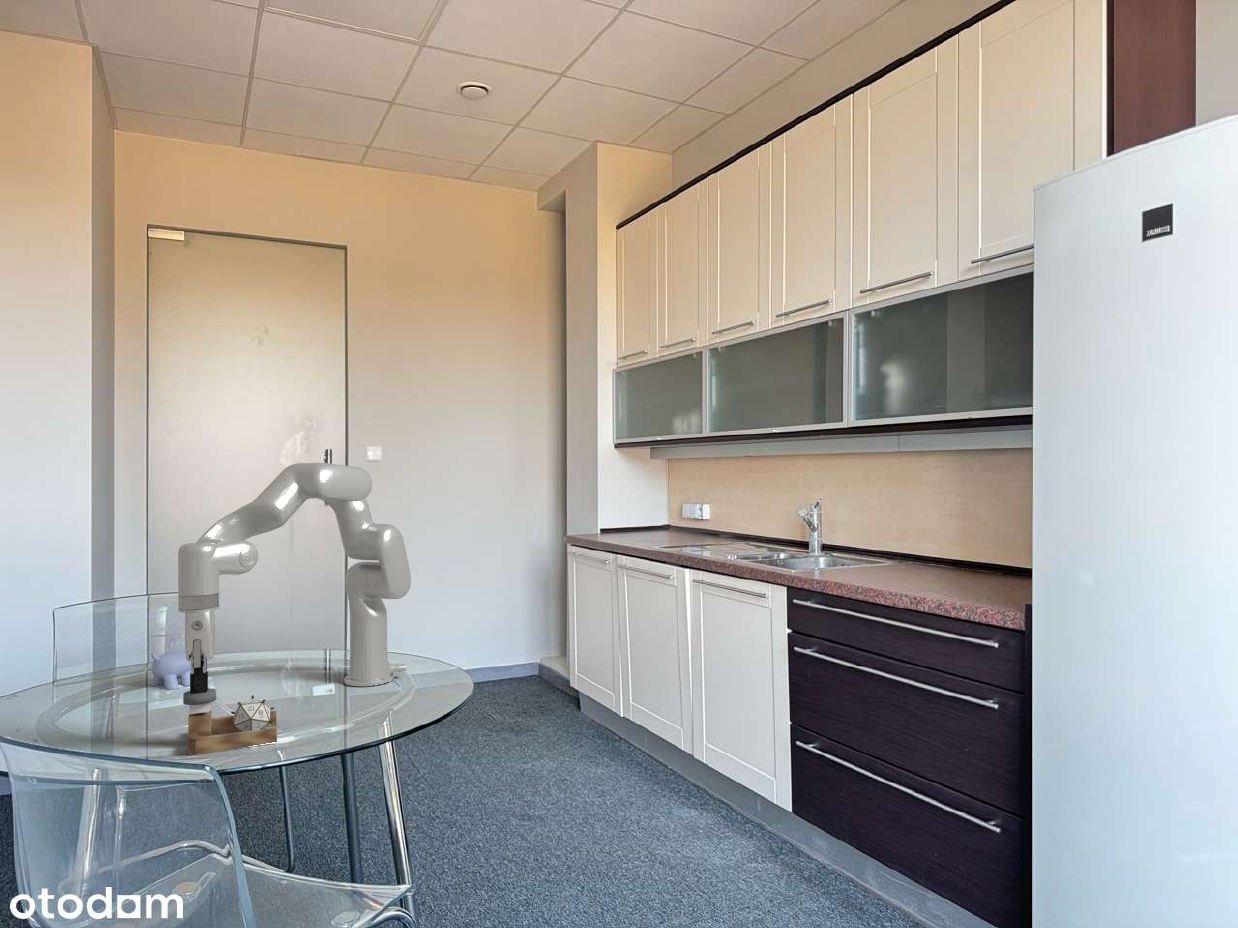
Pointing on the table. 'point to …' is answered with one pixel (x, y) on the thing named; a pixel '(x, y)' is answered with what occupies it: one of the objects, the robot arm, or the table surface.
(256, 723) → the game die
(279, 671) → the table surface
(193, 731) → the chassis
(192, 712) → the wheel
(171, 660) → the hippopotamus toy
